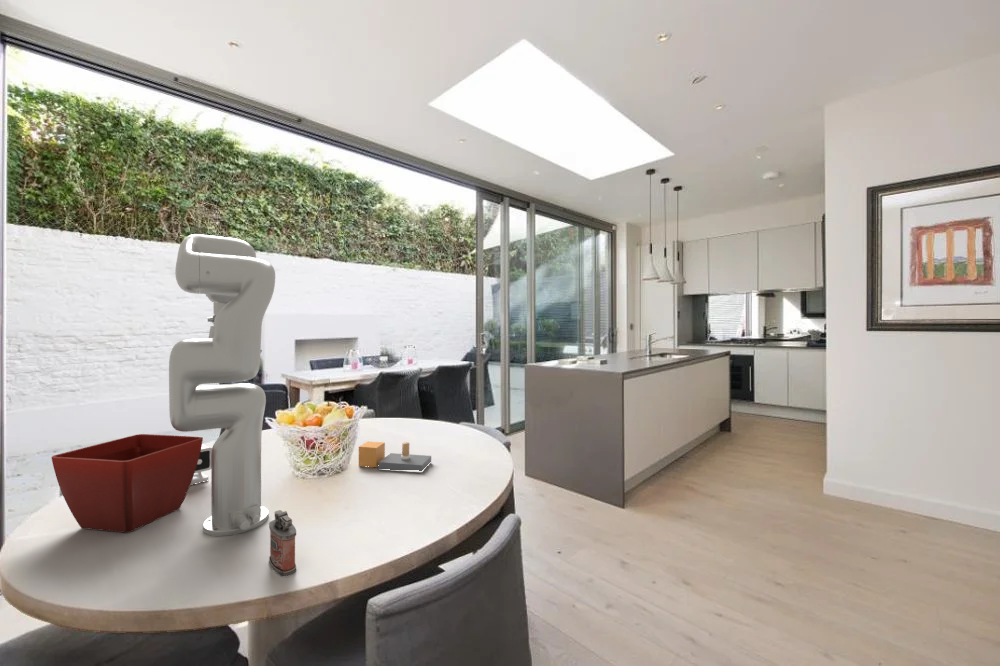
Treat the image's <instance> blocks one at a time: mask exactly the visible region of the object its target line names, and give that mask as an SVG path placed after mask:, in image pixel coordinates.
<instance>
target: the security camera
mask: <svg viewBox="0 0 1000 666" xmlns="http://www.w3.org/2000/svg"><path fill="white" fill-rule="evenodd" d="M211 453H212V447H210V446H208V445H206V444H204V443H202V447H201V452H200V456H199V459H198V463H197V466H196V470H195V473H194V476H193V479H192V481H191V484H190V485H192V484H195V483H199V482H203V481H207V480H208V481H209V475H206V474H205V473H203V472H206V471H210V470H211ZM192 486H193V485H192Z"/></svg>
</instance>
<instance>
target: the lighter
mask: <svg viewBox="0 0 1000 666" xmlns="http://www.w3.org/2000/svg"><path fill="white" fill-rule="evenodd" d="M268 527H269V533H270V534H269V535H270V536H269V537H270V538H269V540H270V544H269V545H270V547H269V549H270V551H269V553H270V554H269V556H268V563H269V567H270V568H271V570H272V571H273V572H274V573H275V574H277V575H278V576H280V577H282V578H285V577H290V576H292V575H294V574H295V573H296V572H297V565H296V536H297V529H296V527H295V526H294V524H293V519H292V518H291V517H290V516H289V515H288V511H287V510H285V511H283V510H280V509H279V510H275V511H274V519H273V520H271V521H270V522H269V524H268Z"/></svg>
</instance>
